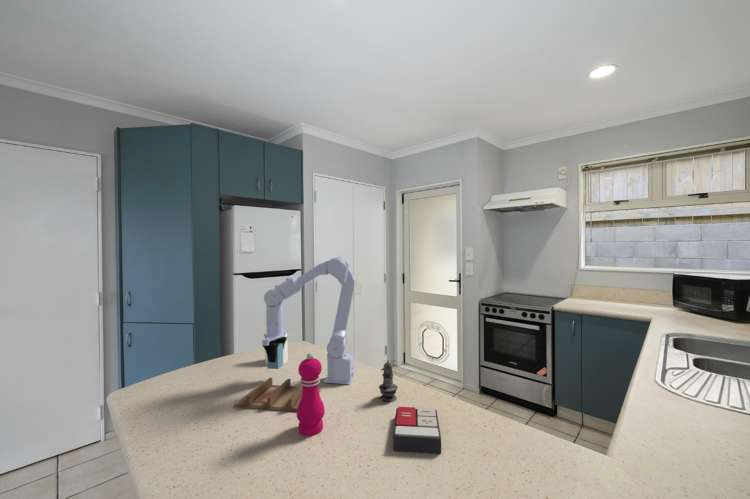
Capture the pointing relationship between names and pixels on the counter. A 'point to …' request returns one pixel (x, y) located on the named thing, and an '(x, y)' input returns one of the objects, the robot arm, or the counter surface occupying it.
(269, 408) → the slot rack
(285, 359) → the cylinder with rectangular tab
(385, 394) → the dark grey tall piece
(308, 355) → the pepper mill
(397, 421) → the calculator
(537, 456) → the counter surface
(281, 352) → the plug block
